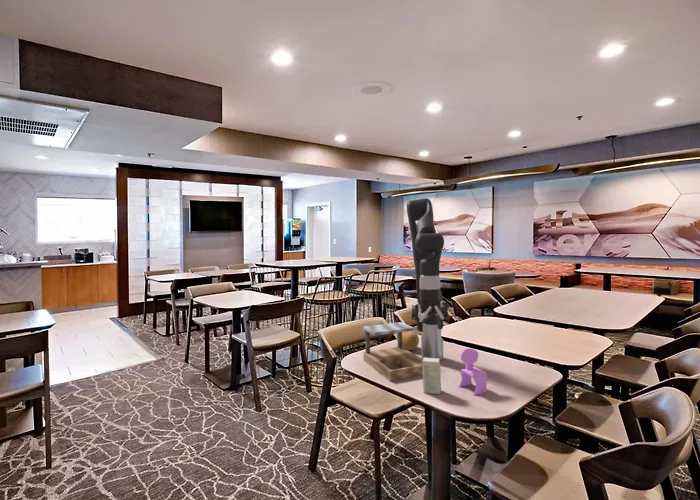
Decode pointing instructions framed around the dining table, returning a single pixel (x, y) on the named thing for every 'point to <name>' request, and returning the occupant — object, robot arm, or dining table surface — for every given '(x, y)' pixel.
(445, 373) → the dining table surface
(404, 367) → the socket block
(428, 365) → the skincare box
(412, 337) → the potato
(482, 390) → the chair
